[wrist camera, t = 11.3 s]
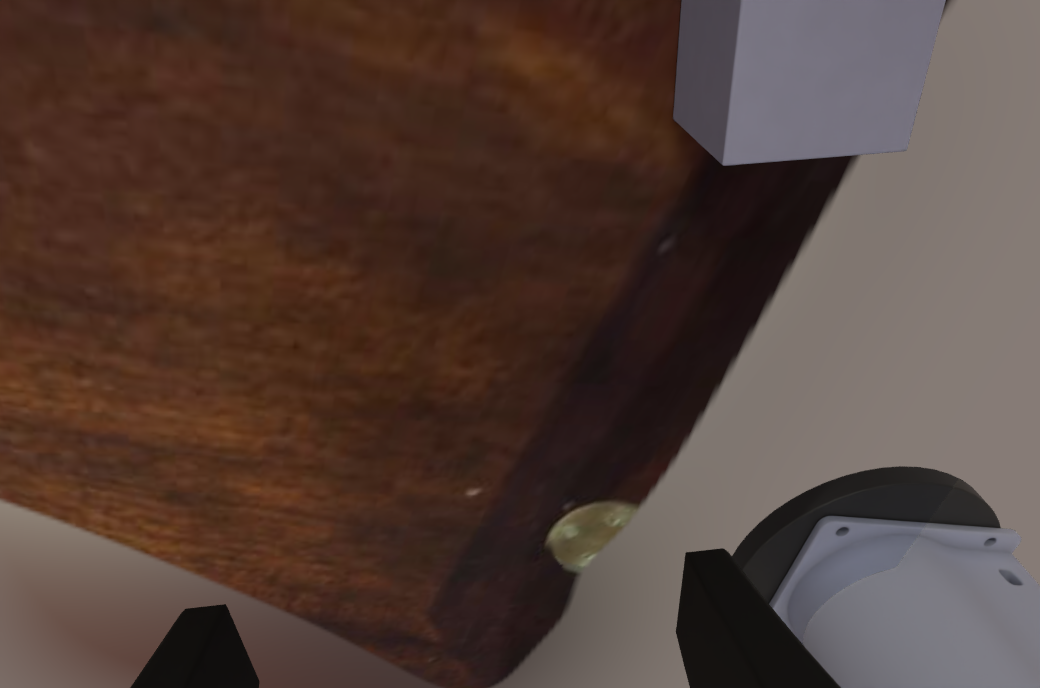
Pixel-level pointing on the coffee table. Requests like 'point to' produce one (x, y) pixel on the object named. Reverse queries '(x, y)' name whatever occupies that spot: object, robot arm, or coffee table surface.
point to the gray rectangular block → (802, 76)
